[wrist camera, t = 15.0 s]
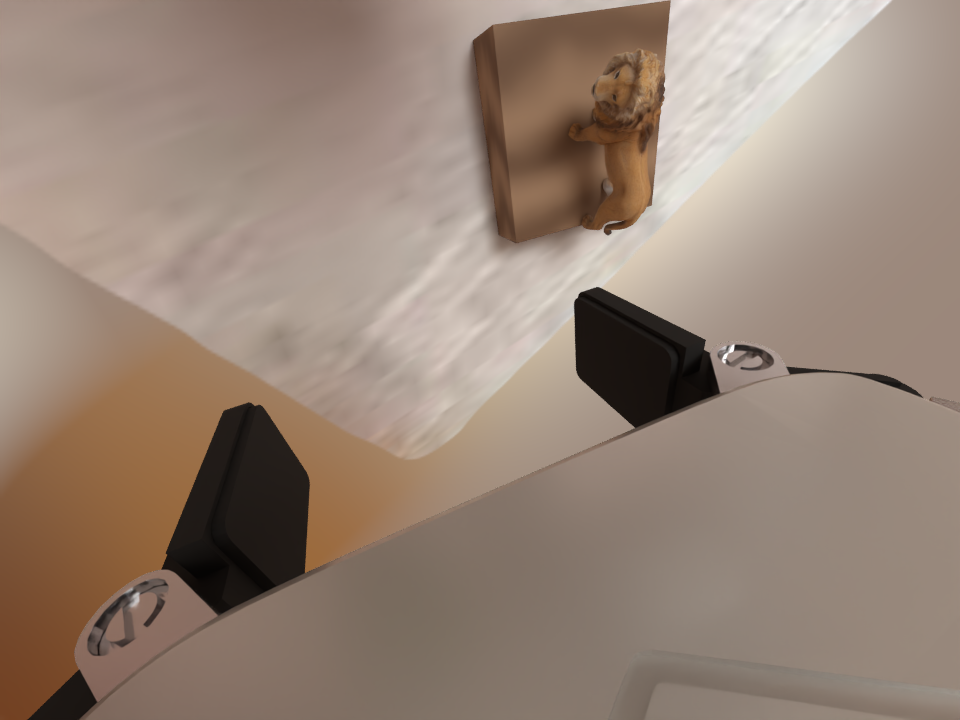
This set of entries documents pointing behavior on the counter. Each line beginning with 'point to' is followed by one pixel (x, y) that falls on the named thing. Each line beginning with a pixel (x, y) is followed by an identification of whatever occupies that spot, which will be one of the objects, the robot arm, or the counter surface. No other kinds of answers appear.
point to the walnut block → (554, 111)
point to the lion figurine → (624, 134)
